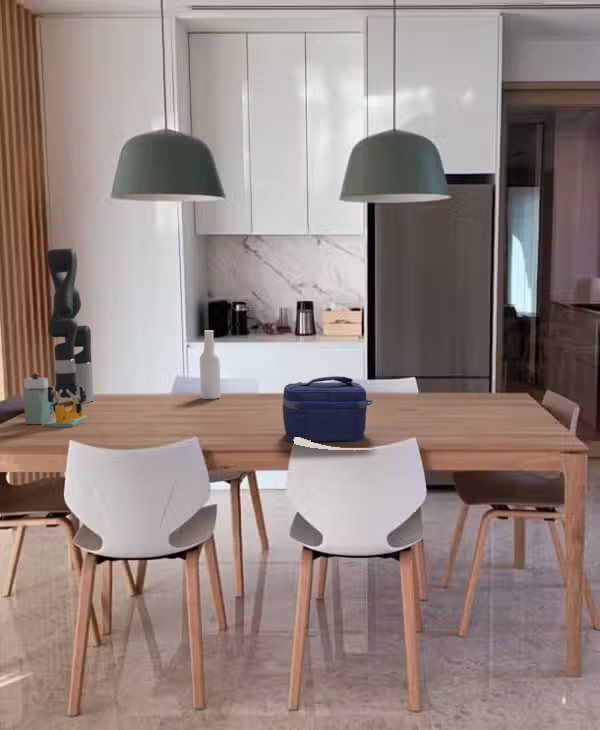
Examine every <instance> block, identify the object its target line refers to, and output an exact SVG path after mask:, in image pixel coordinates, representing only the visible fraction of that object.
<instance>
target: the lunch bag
mask: <svg viewBox="0 0 600 730" xmlns="http://www.w3.org/2000/svg"><path fill="white" fill-rule="evenodd" d="M326 381H336V382H326ZM373 402H374V401H373V400H372V399H371V400H370V399H367V391H366V389H365V388H364V387H363V386H362V385H361V384H360V383H357V382H354V380H353V378H351V377H346V376H337V375H335V376H326V377H319V378H318V377H317V378H314V379H311V380H309V381H308V382H302V381H298V382H296V383H288V384H286V385H284V387H283V396H282V403H283V404H282V419H283V426H284V427H283V428H284V430H285V437H286V438H285V439H286V440H287V441H289V442H290V443H291V442H292V443H294V442H293V439H294V437H301V438H304V439H307V440H311V441H314V442H318V441H324V442H331V441H348V442H350V441H353V442H359V441H363V440H365V431H366V422H367V410H368V409H367V406H370V405H372V404H373Z"/></svg>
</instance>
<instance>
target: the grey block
mask: <svg viewBox="0 0 600 730" xmlns="http://www.w3.org/2000/svg"><path fill="white" fill-rule="evenodd" d="M39 375H40V373H39V372H33V373H31V377H26V378H24V379H23V389H30V388H46V387H49V378H48V377H40V376H39Z"/></svg>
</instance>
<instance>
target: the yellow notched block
mask: <svg viewBox="0 0 600 730" xmlns="http://www.w3.org/2000/svg"><path fill="white" fill-rule="evenodd" d="M72 403H73V404H72V408H69V409H66V407H65V405H64V404H59V405H56V406H55V412H56V413H55V412H54V413H55V417H56V423H64V422H67V421H71V420H74V419H78V418H81V417H83V416H84V412H83V410H82V411H81V412H80V413H79V414H78V413H77V411H76V404H77V403H76V402H75V401H73V402H72Z"/></svg>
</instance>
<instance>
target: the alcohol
mask: <svg viewBox="0 0 600 730" xmlns="http://www.w3.org/2000/svg"><path fill="white" fill-rule="evenodd" d="M214 334H215V333H214V330H211V329H209V330H208V329H207V330H206V329H205V330H204V343H203V347H204V348H203V352H202V353H201V354H200V356H199V377H200V378H199V379H200V380H199V381H200V397H201V399H202V400H205V399H214V400H218V399H217V398H219V399H221V397H222V393H221V392H222V390H221V389H222V387H221V358H220V356H219V354H218V352H217V351H216V348H215V339H214Z"/></svg>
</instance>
